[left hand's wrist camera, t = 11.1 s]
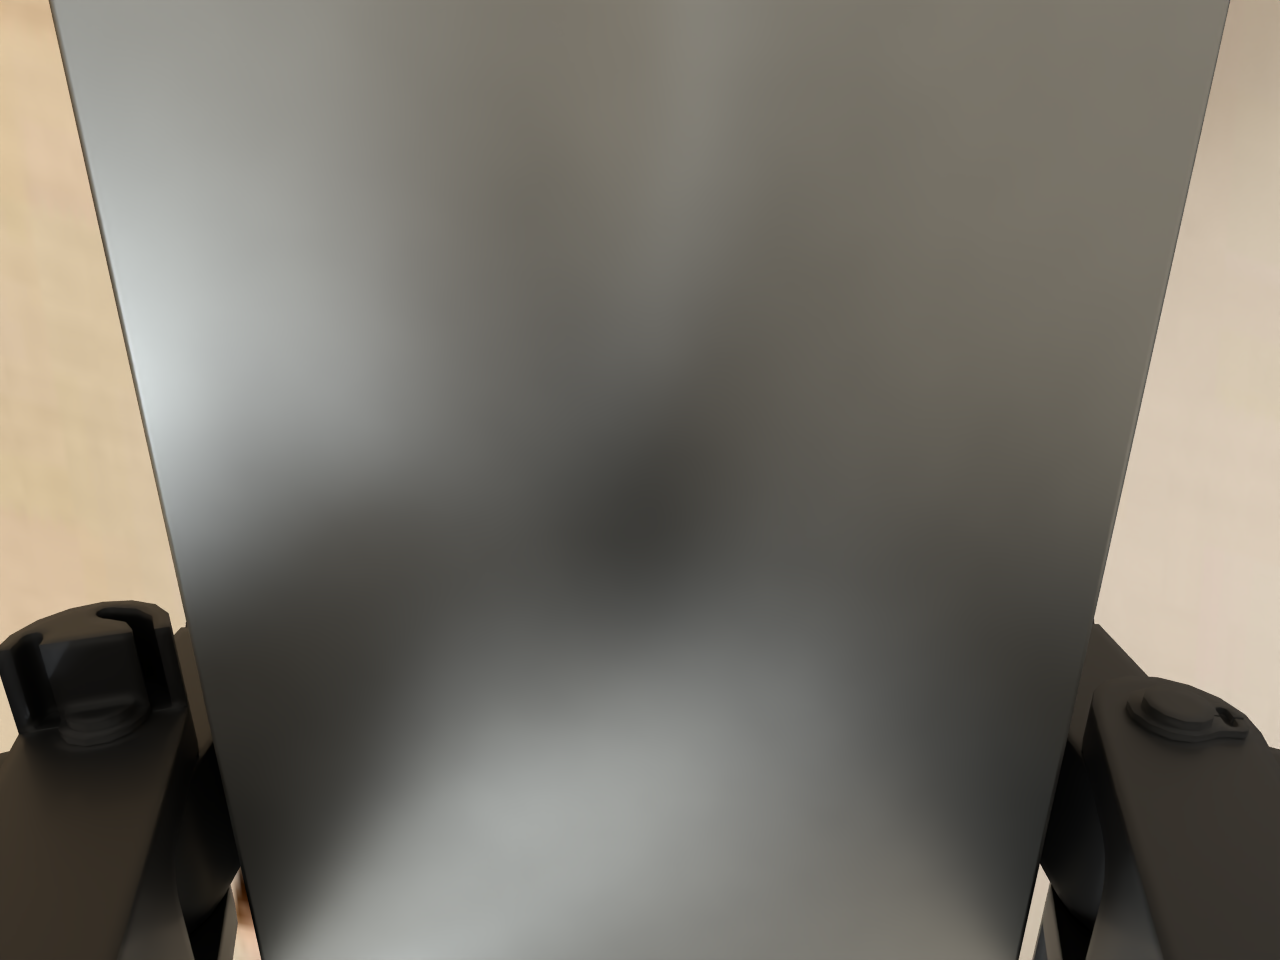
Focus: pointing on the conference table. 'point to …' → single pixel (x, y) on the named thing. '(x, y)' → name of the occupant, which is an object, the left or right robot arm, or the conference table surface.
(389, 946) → the box
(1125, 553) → the conference table surface
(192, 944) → the left robot arm
